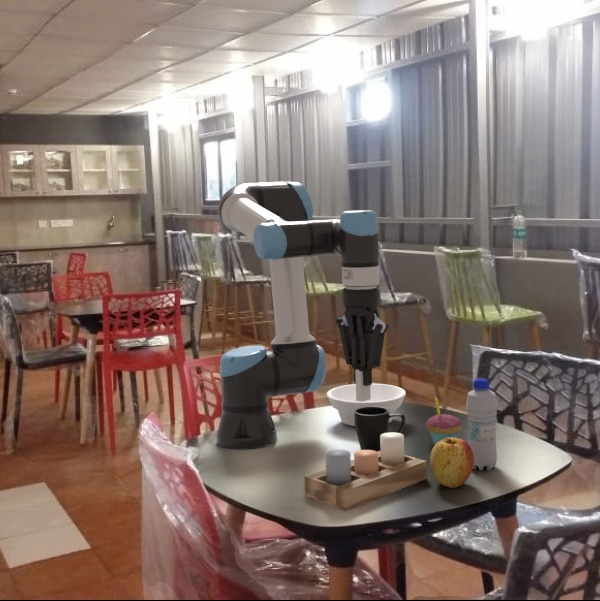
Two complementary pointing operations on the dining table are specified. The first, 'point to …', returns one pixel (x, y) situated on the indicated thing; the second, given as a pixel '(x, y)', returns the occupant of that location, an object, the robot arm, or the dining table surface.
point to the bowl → (380, 397)
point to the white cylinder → (392, 448)
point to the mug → (373, 426)
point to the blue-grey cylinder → (338, 467)
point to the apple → (452, 462)
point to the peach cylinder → (366, 462)
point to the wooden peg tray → (365, 483)
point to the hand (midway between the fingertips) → (363, 399)
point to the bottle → (482, 424)
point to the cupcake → (443, 425)
